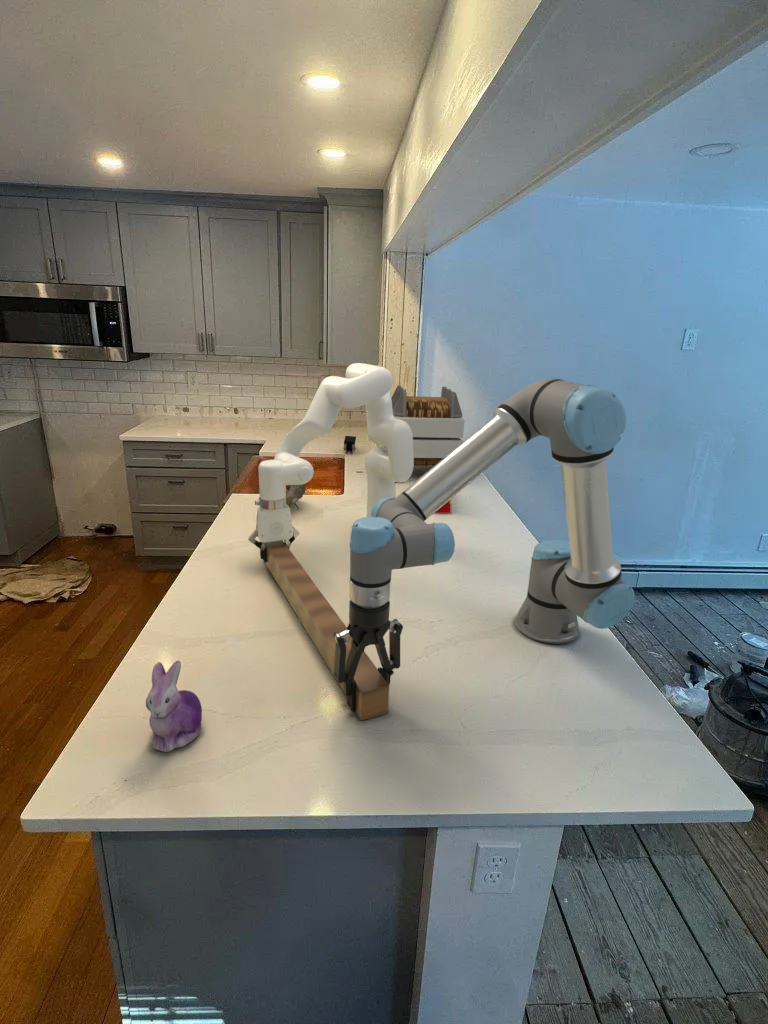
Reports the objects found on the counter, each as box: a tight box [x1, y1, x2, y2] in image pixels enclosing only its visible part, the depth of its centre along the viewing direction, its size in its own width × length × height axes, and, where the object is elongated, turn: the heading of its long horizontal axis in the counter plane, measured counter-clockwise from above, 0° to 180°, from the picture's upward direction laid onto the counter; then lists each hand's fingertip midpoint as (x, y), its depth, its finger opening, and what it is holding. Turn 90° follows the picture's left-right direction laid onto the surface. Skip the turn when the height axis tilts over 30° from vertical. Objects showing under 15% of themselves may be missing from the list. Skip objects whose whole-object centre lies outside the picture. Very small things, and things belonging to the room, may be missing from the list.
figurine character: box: [343, 435, 357, 455], centre depth 308 cm, size 7×8×15 cm
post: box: [264, 540, 390, 721], centre depth 141 cm, size 78×6×6 cm, turn 25°
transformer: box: [386, 384, 465, 467], centre depth 268 cm, size 34×33×41 cm
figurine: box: [145, 660, 203, 753], centre depth 100 cm, size 9×10×15 cm
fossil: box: [286, 484, 307, 510], centre depth 218 cm, size 22×10×15 cm
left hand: (275, 558), depth 171 cm, fingers closed on post, 5 cm apart
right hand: (366, 702), depth 113 cm, fingers closed on post, 6 cm apart
